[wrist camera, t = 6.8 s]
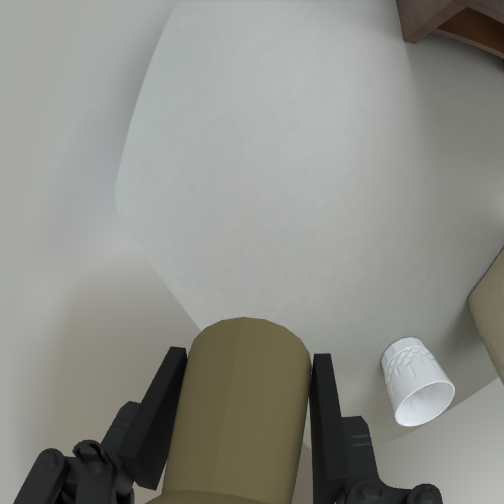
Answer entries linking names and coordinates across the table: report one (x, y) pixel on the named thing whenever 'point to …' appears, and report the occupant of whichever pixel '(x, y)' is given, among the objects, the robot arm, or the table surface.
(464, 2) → the miniature wooden nightstand
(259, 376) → the olive pawn
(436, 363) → the white cup
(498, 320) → the flower pot
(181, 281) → the table surface
